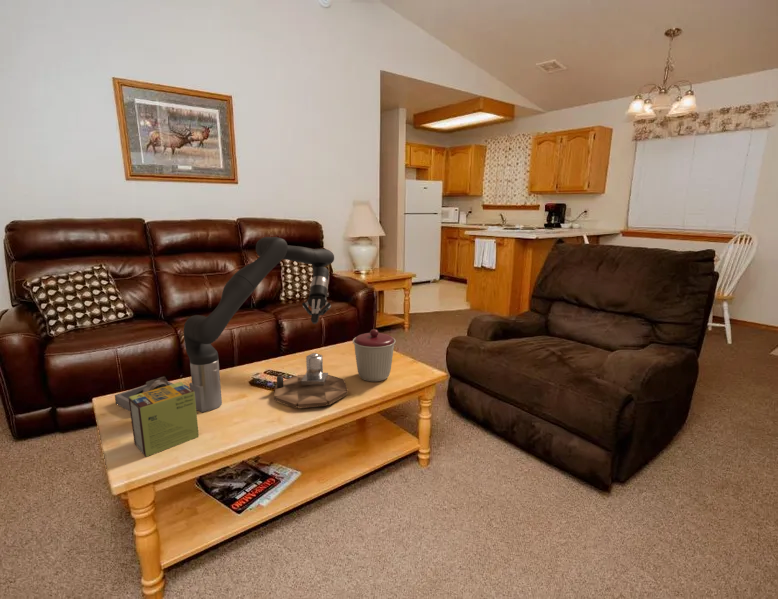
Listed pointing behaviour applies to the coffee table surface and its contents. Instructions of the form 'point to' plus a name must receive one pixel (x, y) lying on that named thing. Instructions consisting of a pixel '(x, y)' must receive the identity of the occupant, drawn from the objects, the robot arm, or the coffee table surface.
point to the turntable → (309, 392)
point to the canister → (374, 355)
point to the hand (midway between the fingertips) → (314, 322)
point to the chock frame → (123, 397)
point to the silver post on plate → (314, 370)
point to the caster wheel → (155, 384)
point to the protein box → (163, 418)
